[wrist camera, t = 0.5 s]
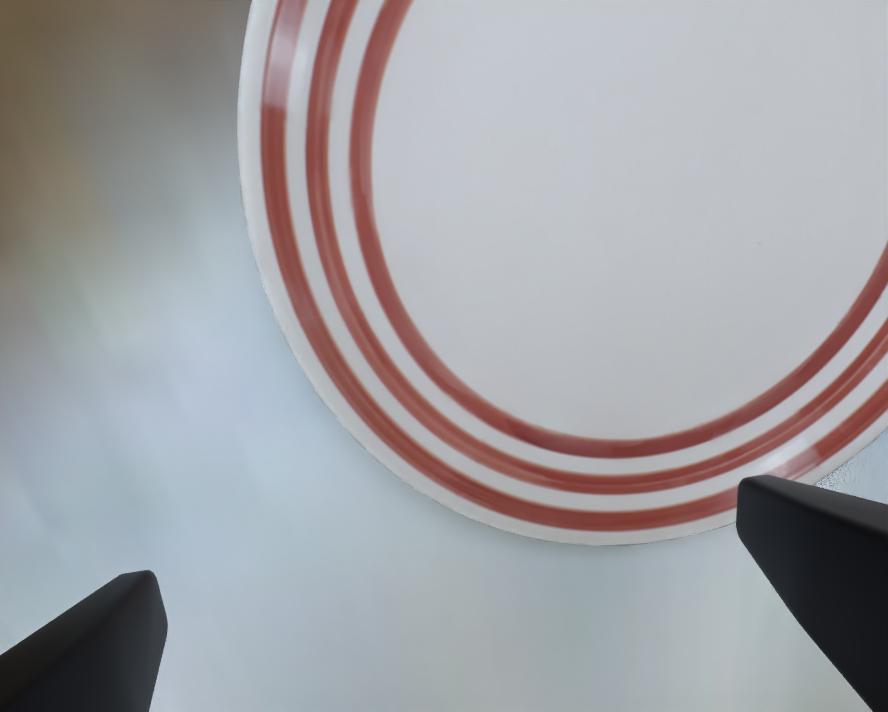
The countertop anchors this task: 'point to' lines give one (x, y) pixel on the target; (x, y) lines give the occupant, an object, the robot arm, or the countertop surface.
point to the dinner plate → (578, 245)
